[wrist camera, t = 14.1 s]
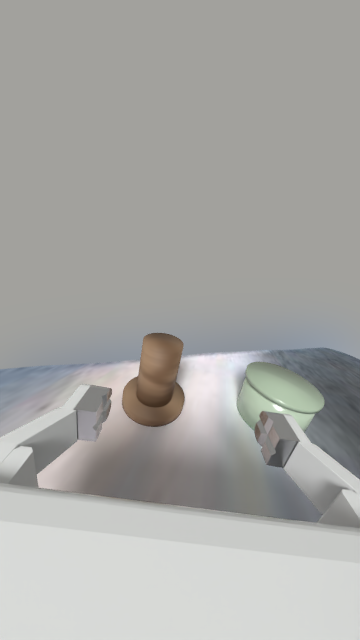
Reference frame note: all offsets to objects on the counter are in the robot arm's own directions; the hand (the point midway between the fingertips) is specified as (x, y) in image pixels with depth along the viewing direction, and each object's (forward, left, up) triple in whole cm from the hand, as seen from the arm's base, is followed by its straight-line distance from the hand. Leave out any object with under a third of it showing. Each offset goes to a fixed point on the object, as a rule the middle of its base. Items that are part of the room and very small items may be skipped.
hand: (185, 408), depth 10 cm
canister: (-19, -4, -12) cm, 23 cm away
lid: (-4, -12, -12) cm, 17 cm away
